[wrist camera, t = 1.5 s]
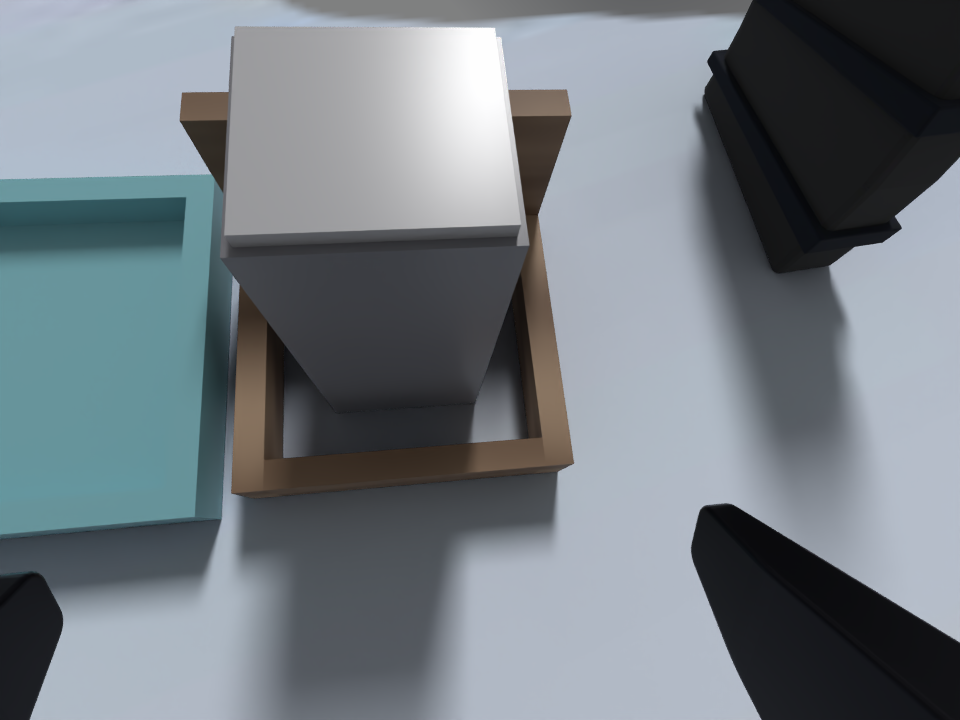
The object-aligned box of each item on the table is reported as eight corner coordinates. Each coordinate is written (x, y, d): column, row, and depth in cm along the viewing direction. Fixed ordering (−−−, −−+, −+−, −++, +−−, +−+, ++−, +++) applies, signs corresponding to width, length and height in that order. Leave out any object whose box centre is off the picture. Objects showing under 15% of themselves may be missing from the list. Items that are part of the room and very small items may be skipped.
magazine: (815, 329, 23) (1128, -180, 12) (672, 174, 31) (774, -199, 20) (894, 316, 23) (1265, -183, 12) (732, 166, 32) (862, -201, 21)
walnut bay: (558, 471, 22) (628, 436, 14) (254, 498, 20) (149, 475, 13) (524, 226, 25) (566, 89, 17) (261, 235, 23) (181, 92, 16)
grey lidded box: (475, 403, 22) (533, 234, 10) (336, 413, 21) (211, 246, 9) (464, 290, 24) (503, 20, 11) (334, 296, 23) (224, 18, 11)
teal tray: (221, 519, 20) (194, 516, 18) (-200, 557, 18) (-288, 560, 16) (235, 208, 24) (214, 174, 21) (-111, 219, 22) (-173, 183, 20)
